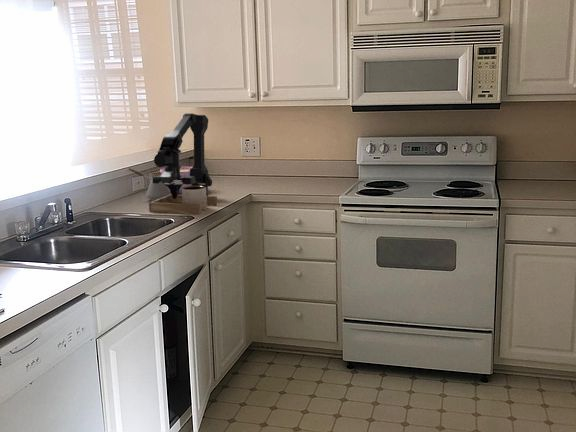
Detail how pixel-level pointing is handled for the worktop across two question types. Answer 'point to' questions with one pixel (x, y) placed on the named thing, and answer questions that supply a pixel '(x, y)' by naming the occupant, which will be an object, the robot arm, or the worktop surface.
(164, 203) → the wooden tray
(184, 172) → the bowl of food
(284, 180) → the worktop surface
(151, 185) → the coffee pot
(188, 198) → the planter
